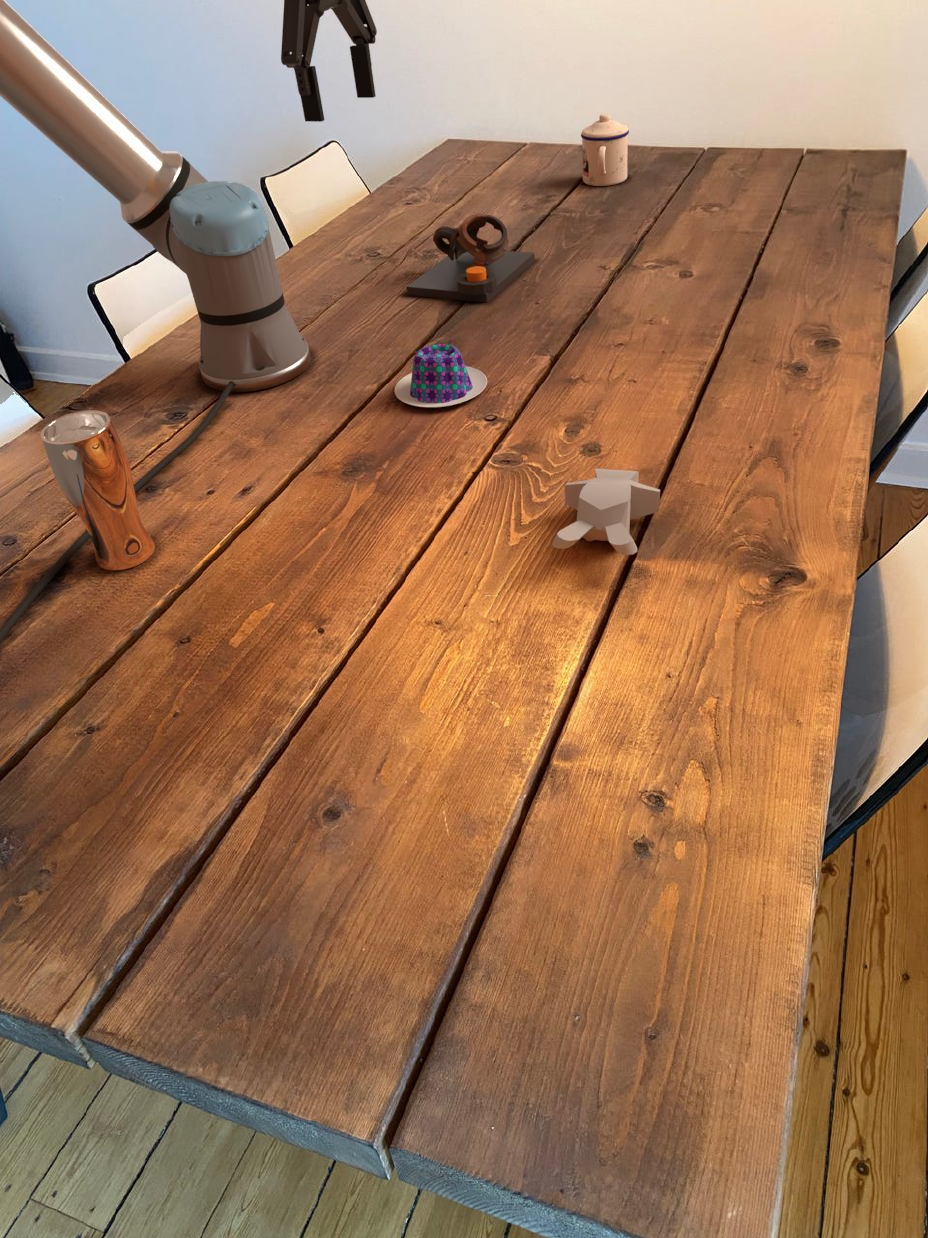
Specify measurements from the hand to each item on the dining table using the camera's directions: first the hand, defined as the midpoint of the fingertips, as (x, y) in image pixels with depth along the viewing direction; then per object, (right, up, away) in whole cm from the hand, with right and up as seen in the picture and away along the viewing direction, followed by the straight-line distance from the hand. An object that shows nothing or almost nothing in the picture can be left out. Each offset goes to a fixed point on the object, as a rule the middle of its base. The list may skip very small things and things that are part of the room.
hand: (341, 108), depth 134 cm
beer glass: (-18, -65, -34) cm, 76 cm away
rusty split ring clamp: (+19, -15, +20) cm, 31 cm away
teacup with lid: (+45, +13, +51) cm, 69 cm away
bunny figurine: (+32, -64, -39) cm, 81 cm away
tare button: (+19, -21, +10) cm, 30 cm away
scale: (+19, -17, +18) cm, 31 cm away
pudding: (+14, -43, -12) cm, 47 cm away
